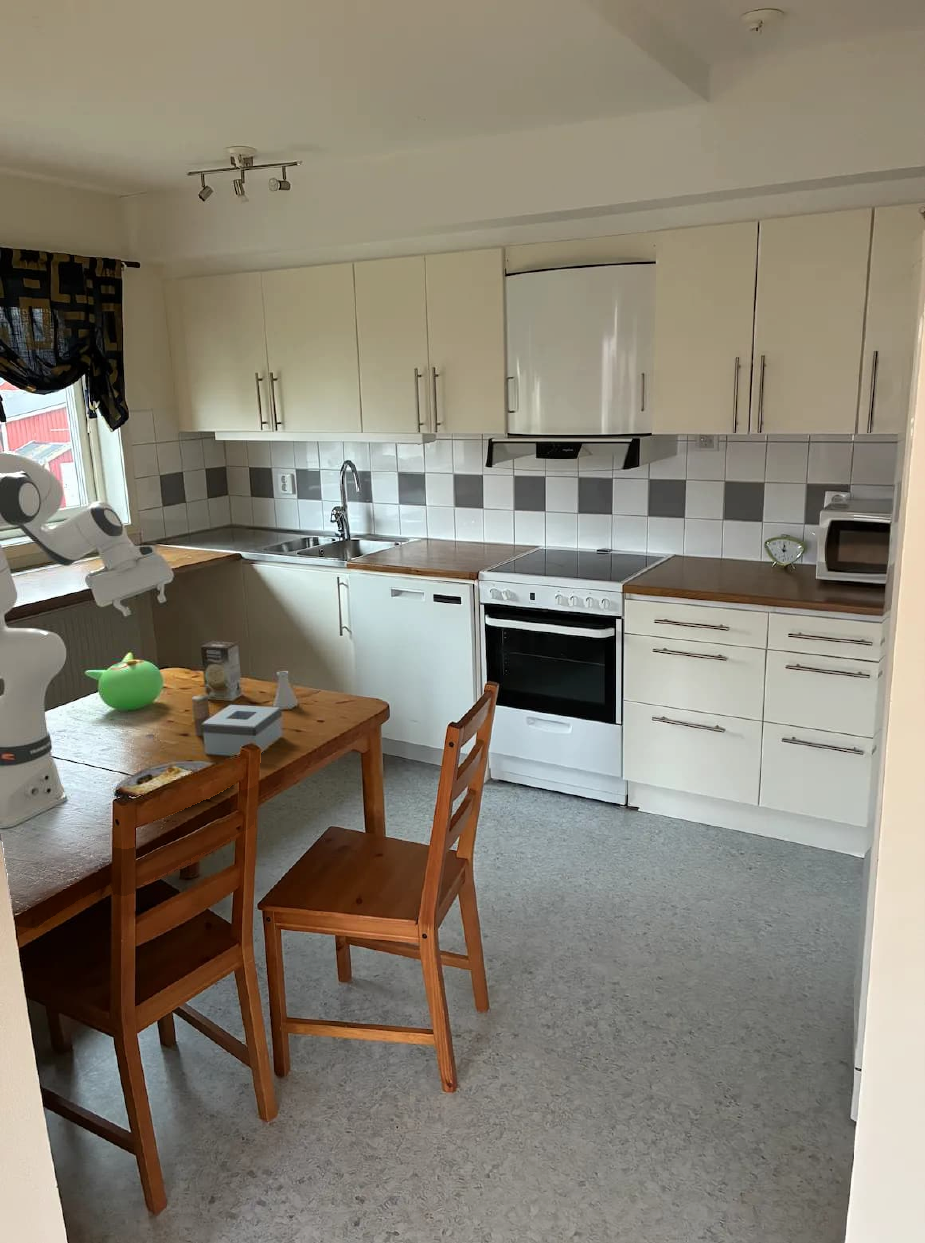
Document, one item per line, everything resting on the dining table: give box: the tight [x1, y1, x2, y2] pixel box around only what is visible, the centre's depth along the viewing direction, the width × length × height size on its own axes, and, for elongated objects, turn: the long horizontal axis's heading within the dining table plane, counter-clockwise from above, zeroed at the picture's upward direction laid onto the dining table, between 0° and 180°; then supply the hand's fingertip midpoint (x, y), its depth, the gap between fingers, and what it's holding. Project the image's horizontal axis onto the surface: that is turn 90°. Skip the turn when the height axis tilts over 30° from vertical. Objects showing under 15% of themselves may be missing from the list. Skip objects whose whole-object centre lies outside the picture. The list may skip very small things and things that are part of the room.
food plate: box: [113, 760, 215, 799], centre depth 212 cm, size 25×23×4 cm
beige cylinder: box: [191, 694, 211, 737], centre depth 246 cm, size 4×4×10 cm
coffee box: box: [200, 640, 243, 702], centre depth 275 cm, size 9×6×16 cm
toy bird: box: [84, 652, 164, 711], centre depth 268 cm, size 18×17×15 cm
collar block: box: [201, 704, 283, 757], centre depth 236 cm, size 14×14×8 cm
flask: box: [272, 670, 299, 711], centre depth 265 cm, size 7×7×10 cm
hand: (145, 608), depth 241 cm, fingers open, 8 cm apart
